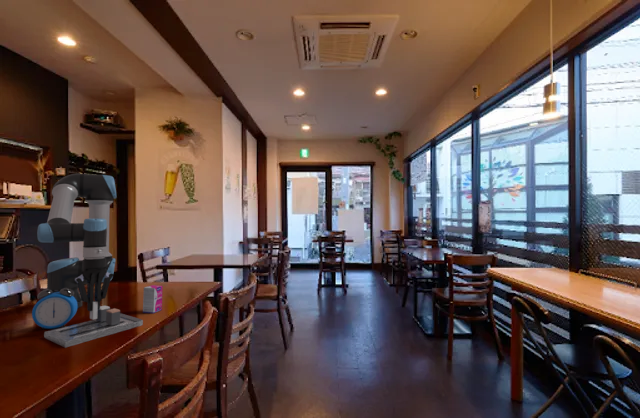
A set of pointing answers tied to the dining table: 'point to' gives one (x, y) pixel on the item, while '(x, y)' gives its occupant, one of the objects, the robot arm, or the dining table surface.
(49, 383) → the dining table surface
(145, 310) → the supplement box
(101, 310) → the fader white
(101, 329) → the console
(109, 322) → the fader terracotta
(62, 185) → the robot arm
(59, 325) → the alarm clock
